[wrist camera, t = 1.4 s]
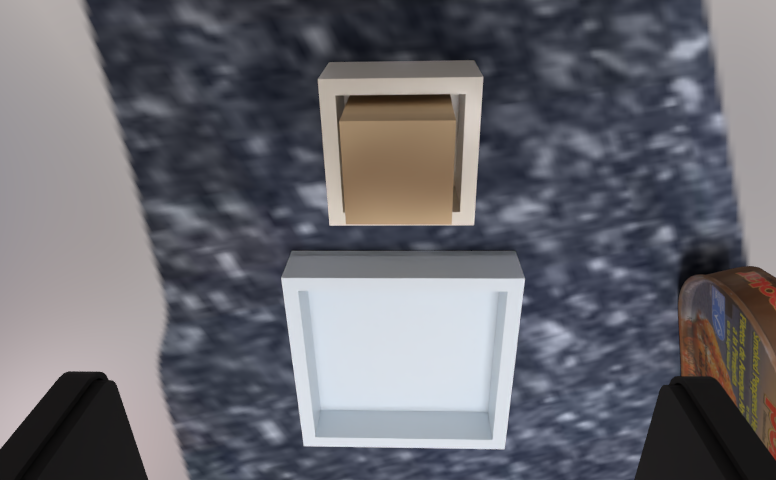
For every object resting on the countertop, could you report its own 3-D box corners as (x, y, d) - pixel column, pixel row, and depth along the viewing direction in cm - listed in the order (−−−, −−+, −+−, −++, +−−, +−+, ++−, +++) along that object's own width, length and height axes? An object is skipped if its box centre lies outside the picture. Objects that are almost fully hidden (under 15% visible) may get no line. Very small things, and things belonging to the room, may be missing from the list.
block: (352, 89, 23) (339, 121, 19) (448, 88, 22) (456, 120, 18) (356, 178, 25) (345, 224, 21) (445, 178, 24) (451, 224, 20)
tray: (291, 250, 27) (281, 277, 25) (515, 250, 26) (524, 278, 24) (311, 411, 32) (304, 446, 30) (498, 414, 32) (504, 449, 30)
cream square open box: (330, 60, 23) (317, 78, 20) (473, 58, 23) (483, 77, 20) (339, 191, 26) (329, 225, 23) (466, 191, 26) (474, 225, 22)
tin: (674, 243, 26) (778, 361, 19) (744, 228, 26) (879, 343, 18) (683, 453, 33) (761, 600, 26) (738, 444, 32) (835, 593, 25)
